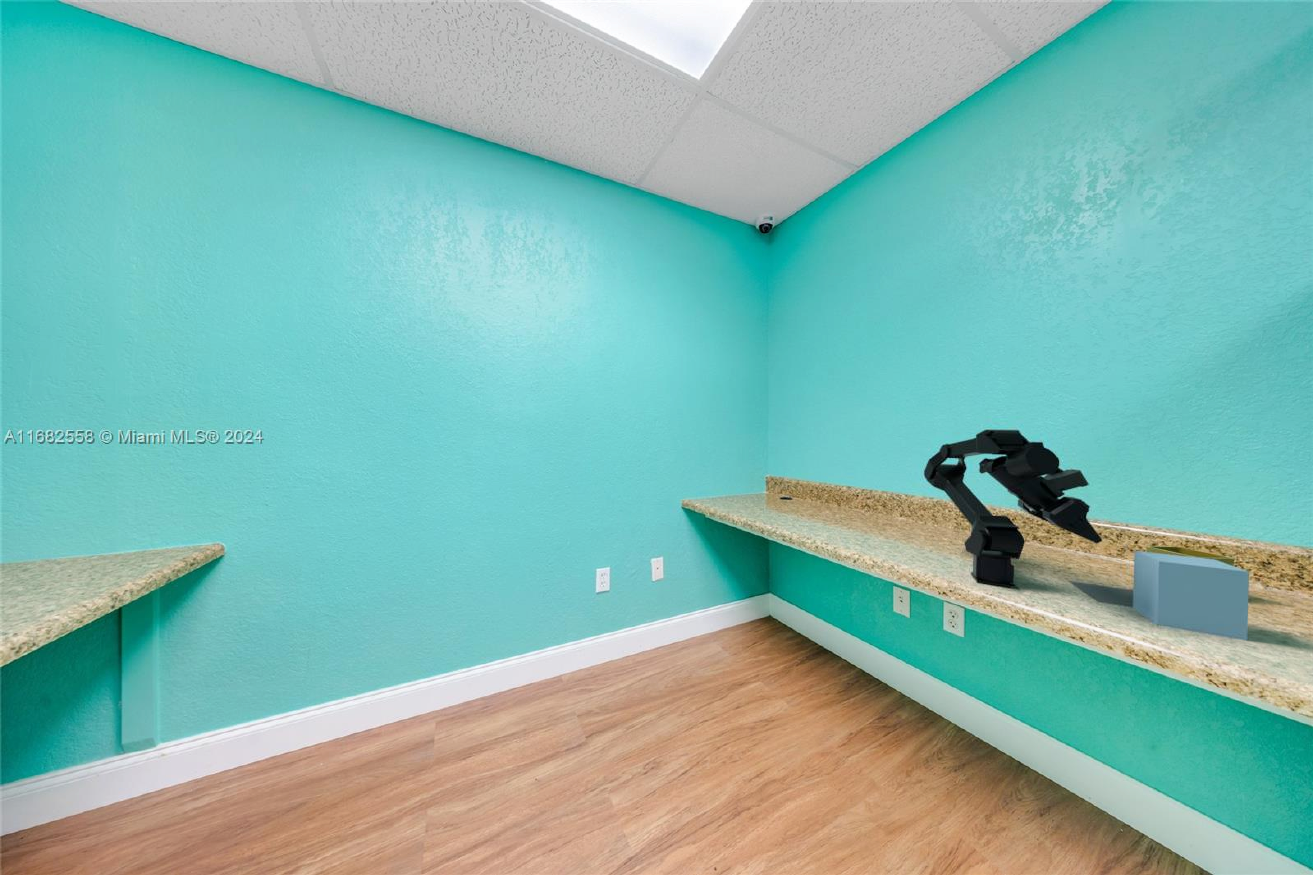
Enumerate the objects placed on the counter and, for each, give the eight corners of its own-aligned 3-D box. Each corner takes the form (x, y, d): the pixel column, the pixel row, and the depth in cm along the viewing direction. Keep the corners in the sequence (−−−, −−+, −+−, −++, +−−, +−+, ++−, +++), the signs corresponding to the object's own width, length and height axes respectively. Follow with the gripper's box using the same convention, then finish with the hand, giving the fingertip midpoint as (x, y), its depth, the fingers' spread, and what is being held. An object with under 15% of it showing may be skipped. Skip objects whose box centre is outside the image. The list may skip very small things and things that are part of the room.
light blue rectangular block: (1157, 626, 69) (1158, 561, 69) (1132, 610, 76) (1134, 550, 75) (1247, 642, 64) (1249, 571, 64) (1213, 623, 71) (1214, 559, 70)
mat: (1097, 603, 79) (1097, 601, 79) (1067, 582, 90) (1067, 580, 90) (1220, 623, 71) (1220, 620, 71) (1170, 597, 82) (1170, 595, 82)
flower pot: (1178, 583, 91) (1179, 545, 91) (1235, 599, 82) (1236, 557, 82) (1143, 583, 90) (1144, 545, 90) (1196, 599, 82) (1198, 557, 82)
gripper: (1075, 457, 74) (1160, 521, 69) (1036, 454, 90) (1102, 505, 85) (1020, 494, 78) (1096, 557, 72) (992, 484, 94) (1053, 535, 89)
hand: (1087, 536), depth 80 cm, fingers open, 9 cm apart
